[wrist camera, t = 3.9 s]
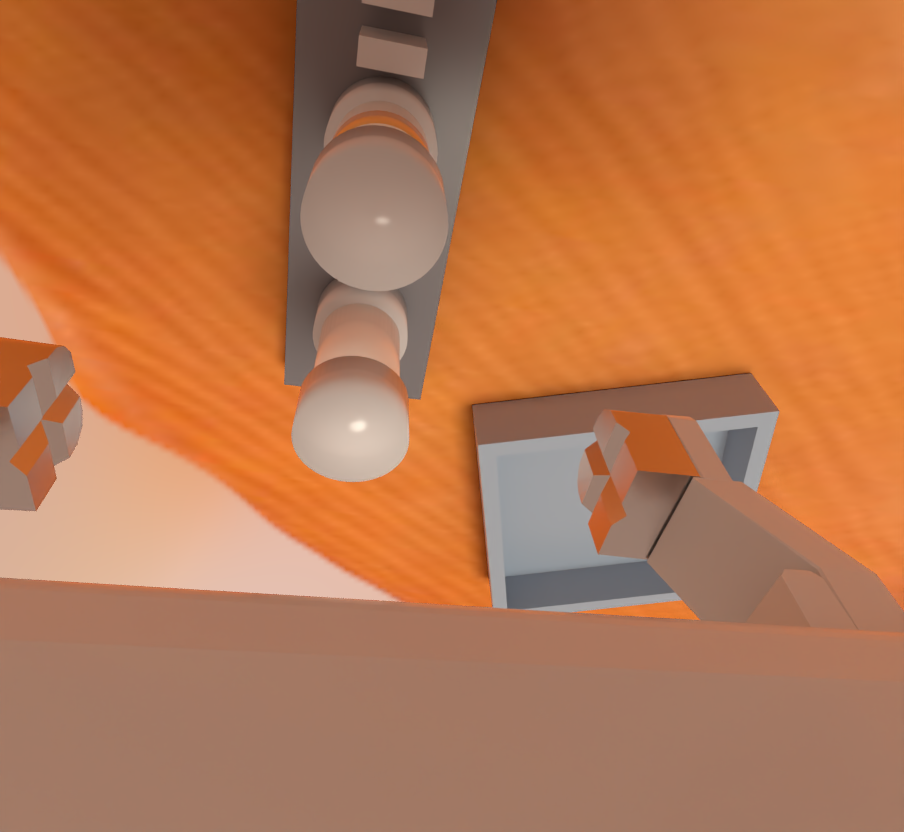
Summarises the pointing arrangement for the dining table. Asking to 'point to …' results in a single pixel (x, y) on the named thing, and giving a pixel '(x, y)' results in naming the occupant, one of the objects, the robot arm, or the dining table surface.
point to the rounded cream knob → (355, 386)
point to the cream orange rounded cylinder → (376, 189)
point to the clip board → (453, 110)
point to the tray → (556, 490)
